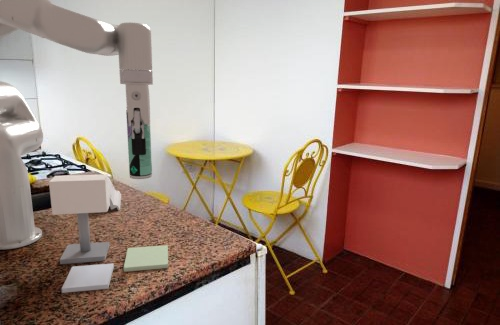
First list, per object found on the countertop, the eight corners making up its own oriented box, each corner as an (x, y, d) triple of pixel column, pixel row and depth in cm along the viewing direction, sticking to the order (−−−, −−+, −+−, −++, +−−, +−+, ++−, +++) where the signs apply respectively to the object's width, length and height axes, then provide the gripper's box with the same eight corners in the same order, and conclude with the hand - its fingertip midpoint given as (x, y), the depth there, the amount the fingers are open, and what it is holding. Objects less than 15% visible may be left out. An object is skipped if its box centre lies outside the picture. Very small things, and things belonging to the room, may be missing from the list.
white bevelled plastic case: (120, 210, 121) (107, 184, 118) (105, 216, 120) (92, 190, 117) (121, 195, 136) (110, 171, 133) (108, 200, 135) (97, 176, 132)
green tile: (123, 271, 84) (123, 267, 84) (127, 251, 94) (127, 247, 94) (168, 267, 87) (168, 264, 86) (167, 248, 96) (167, 245, 96)
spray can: (144, 172, 97) (141, 95, 92) (156, 176, 94) (153, 97, 89) (125, 175, 93) (121, 96, 89) (136, 180, 90) (132, 97, 85)
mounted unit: (55, 264, 86) (46, 183, 82) (64, 249, 94) (56, 174, 89) (109, 260, 89) (103, 181, 84) (113, 245, 97) (109, 172, 92)
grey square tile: (62, 292, 76) (61, 288, 75) (72, 270, 84) (72, 266, 84) (108, 288, 78) (107, 284, 77) (113, 267, 86) (113, 263, 86)
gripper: (152, 79, 81) (155, 159, 85) (152, 77, 97) (155, 145, 101) (116, 78, 79) (121, 160, 83) (122, 77, 95) (126, 145, 99)
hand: (139, 151), depth 92 cm, fingers closed on spray can, 5 cm apart
